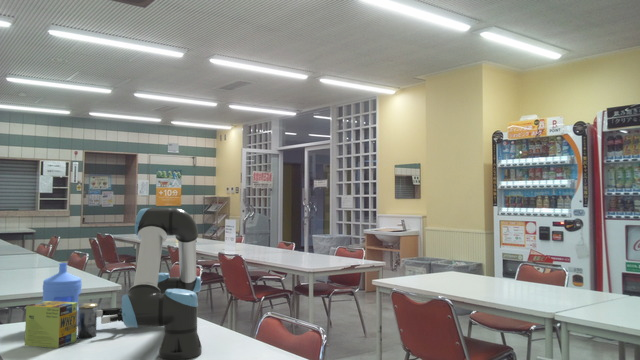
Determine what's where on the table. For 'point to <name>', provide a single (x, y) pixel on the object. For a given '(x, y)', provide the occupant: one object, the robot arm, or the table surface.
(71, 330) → the protein box
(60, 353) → the table surface
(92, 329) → the gold and gray tin
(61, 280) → the water jug
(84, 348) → the table surface
